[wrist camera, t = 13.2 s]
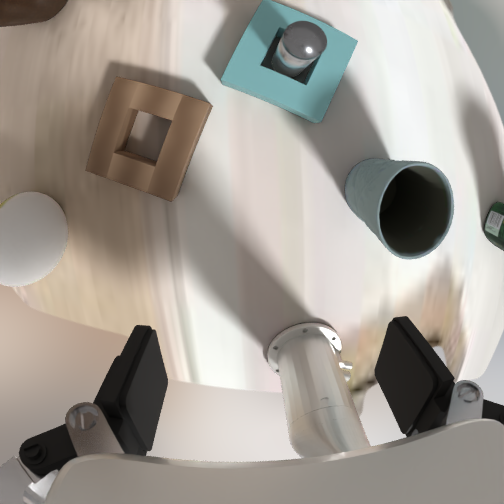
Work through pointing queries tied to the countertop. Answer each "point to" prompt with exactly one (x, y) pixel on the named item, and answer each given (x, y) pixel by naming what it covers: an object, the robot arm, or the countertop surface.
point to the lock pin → (298, 48)
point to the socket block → (280, 86)
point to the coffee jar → (495, 225)
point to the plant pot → (28, 11)
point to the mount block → (174, 147)
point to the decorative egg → (30, 238)
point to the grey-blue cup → (402, 204)
